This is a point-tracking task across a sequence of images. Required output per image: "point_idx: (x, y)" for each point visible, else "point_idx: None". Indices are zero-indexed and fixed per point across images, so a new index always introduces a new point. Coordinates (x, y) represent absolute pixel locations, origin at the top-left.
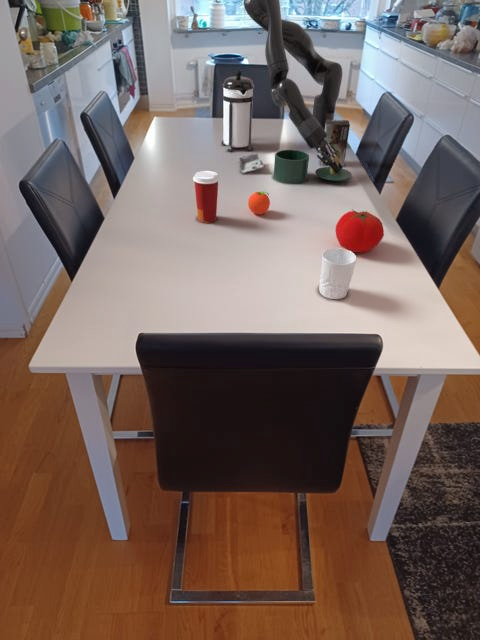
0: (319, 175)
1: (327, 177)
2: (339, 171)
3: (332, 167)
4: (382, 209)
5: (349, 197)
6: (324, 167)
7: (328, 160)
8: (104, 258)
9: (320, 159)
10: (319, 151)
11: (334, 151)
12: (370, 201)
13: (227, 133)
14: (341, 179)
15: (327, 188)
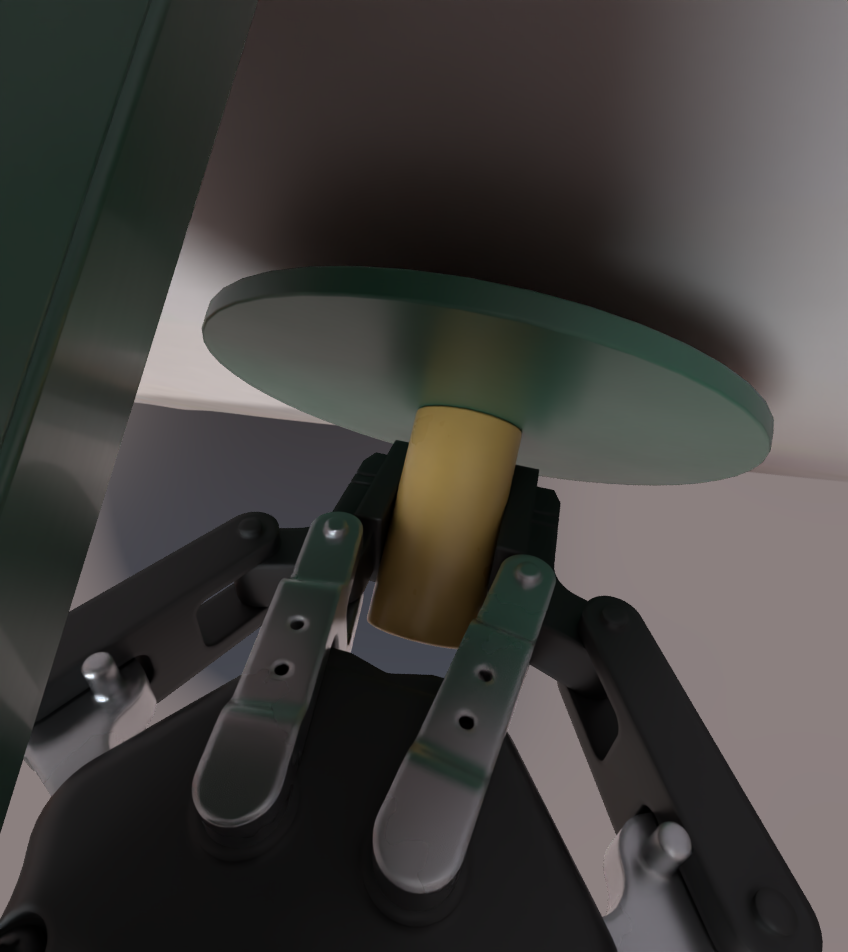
0: (214, 326)
1: (255, 373)
2: (562, 454)
3: (343, 505)
4: (232, 412)
5: (206, 364)
6: (705, 402)
7: (205, 602)
8: None
9: (83, 611)
10: (39, 776)
11: (581, 743)
12: (266, 405)
13: None
14: (332, 422)
15: (185, 286)
